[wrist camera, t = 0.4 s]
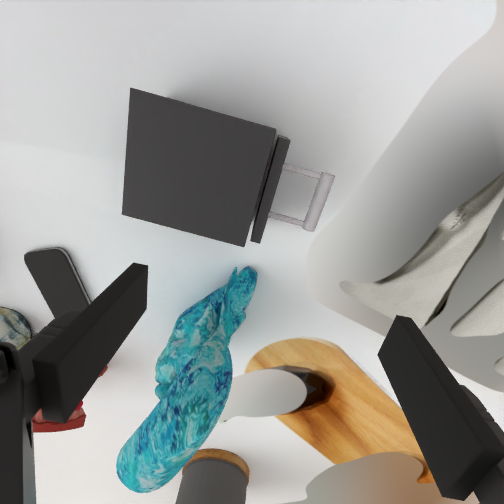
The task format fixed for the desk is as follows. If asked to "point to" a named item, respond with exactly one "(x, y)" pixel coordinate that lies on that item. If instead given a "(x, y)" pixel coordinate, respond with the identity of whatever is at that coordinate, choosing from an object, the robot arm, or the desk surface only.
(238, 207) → the cabinet
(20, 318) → the seashell
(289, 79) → the desk surface
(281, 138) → the drawer
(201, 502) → the decorative piece
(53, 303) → the smartphone
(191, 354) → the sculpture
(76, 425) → the anatomical model
